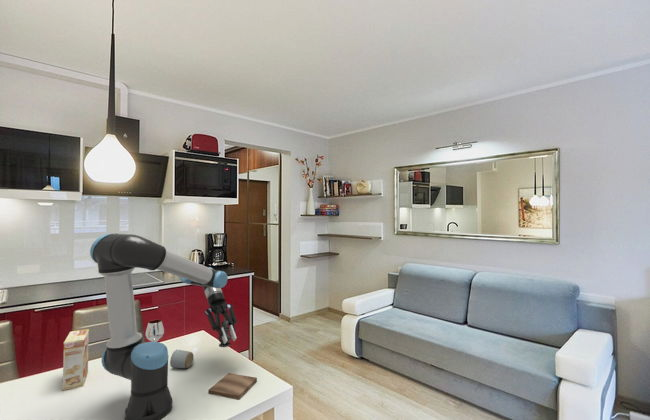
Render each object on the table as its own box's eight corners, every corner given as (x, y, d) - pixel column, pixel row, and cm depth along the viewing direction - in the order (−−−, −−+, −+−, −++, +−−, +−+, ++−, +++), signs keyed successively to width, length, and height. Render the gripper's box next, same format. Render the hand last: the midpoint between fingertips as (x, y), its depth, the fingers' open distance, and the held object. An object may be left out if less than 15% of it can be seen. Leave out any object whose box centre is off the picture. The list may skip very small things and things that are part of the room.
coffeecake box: (83, 386, 130) (84, 339, 130) (61, 391, 126) (62, 342, 127) (88, 371, 143) (89, 328, 143) (69, 375, 139) (69, 331, 140)
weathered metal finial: (234, 344, 143) (234, 318, 143) (222, 348, 138) (222, 321, 139) (227, 341, 147) (227, 315, 147) (215, 344, 142) (216, 318, 143)
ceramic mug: (186, 371, 143) (186, 354, 143) (169, 370, 143) (169, 353, 144) (198, 361, 153) (198, 345, 153) (182, 360, 154) (182, 344, 154)
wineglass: (158, 361, 152) (158, 324, 152) (141, 361, 152) (142, 324, 152) (166, 354, 160) (167, 318, 161) (151, 354, 160) (151, 318, 161)
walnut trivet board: (239, 399, 121) (239, 395, 121) (208, 393, 125) (208, 389, 125) (256, 381, 134) (256, 377, 134) (228, 376, 138) (228, 372, 138)
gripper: (228, 297, 159) (244, 340, 146) (195, 303, 147) (209, 350, 135) (233, 289, 155) (250, 331, 143) (199, 294, 143) (214, 341, 131)
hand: (230, 340), depth 139 cm, fingers closed on weathered metal finial, 4 cm apart
